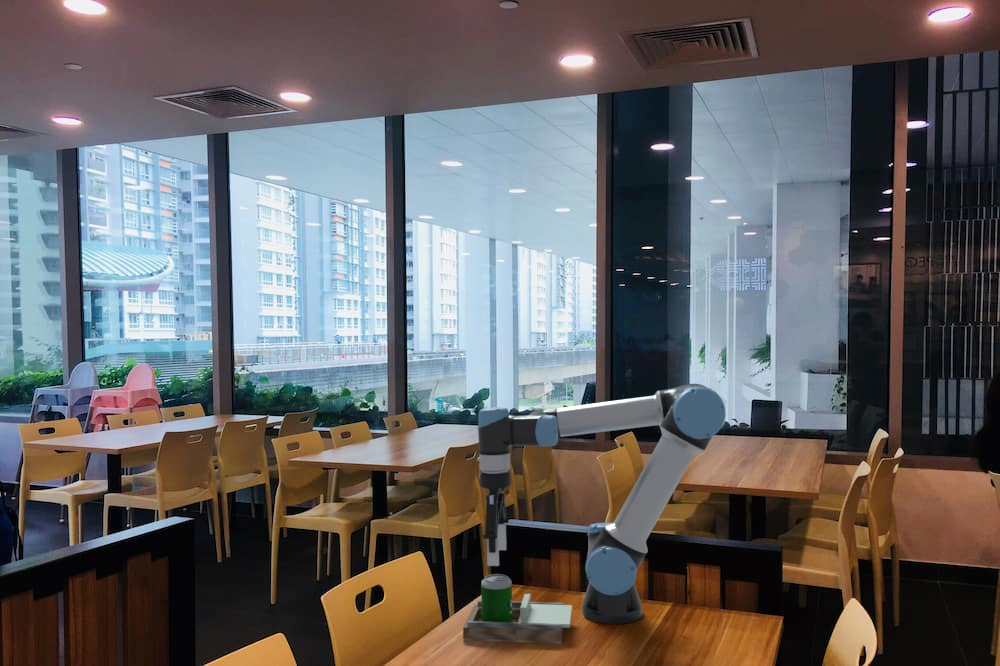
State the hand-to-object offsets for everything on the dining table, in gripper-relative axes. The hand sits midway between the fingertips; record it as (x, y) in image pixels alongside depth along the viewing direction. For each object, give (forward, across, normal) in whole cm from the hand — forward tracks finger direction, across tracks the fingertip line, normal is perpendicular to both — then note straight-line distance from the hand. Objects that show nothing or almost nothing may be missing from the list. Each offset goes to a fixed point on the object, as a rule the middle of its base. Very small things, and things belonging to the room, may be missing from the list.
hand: (497, 557), depth 189 cm
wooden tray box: (+18, 0, +4) cm, 18 cm away
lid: (+14, 0, +12) cm, 18 cm away
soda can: (+17, 0, 0) cm, 17 cm away
